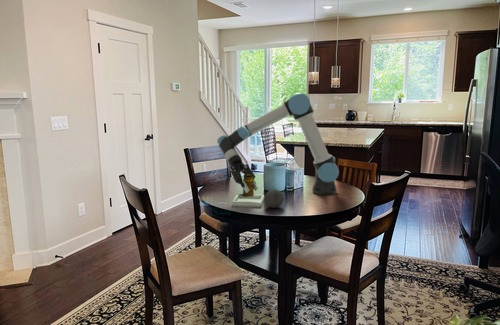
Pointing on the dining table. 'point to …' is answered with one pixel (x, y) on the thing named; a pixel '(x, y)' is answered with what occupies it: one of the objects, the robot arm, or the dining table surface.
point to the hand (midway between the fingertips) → (252, 190)
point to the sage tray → (248, 201)
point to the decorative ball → (274, 198)
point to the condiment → (250, 184)
